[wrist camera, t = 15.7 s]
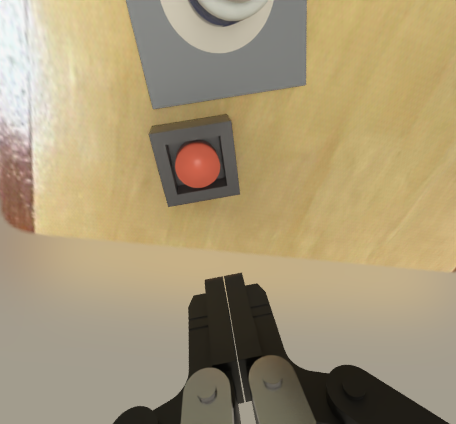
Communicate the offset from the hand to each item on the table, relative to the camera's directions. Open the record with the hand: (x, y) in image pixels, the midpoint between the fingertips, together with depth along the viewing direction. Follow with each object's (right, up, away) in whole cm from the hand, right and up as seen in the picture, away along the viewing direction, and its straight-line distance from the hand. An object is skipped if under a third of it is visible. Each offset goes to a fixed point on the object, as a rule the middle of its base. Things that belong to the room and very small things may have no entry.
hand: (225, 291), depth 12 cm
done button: (-3, +8, +16) cm, 18 cm away
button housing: (-3, +9, +17) cm, 19 cm away
